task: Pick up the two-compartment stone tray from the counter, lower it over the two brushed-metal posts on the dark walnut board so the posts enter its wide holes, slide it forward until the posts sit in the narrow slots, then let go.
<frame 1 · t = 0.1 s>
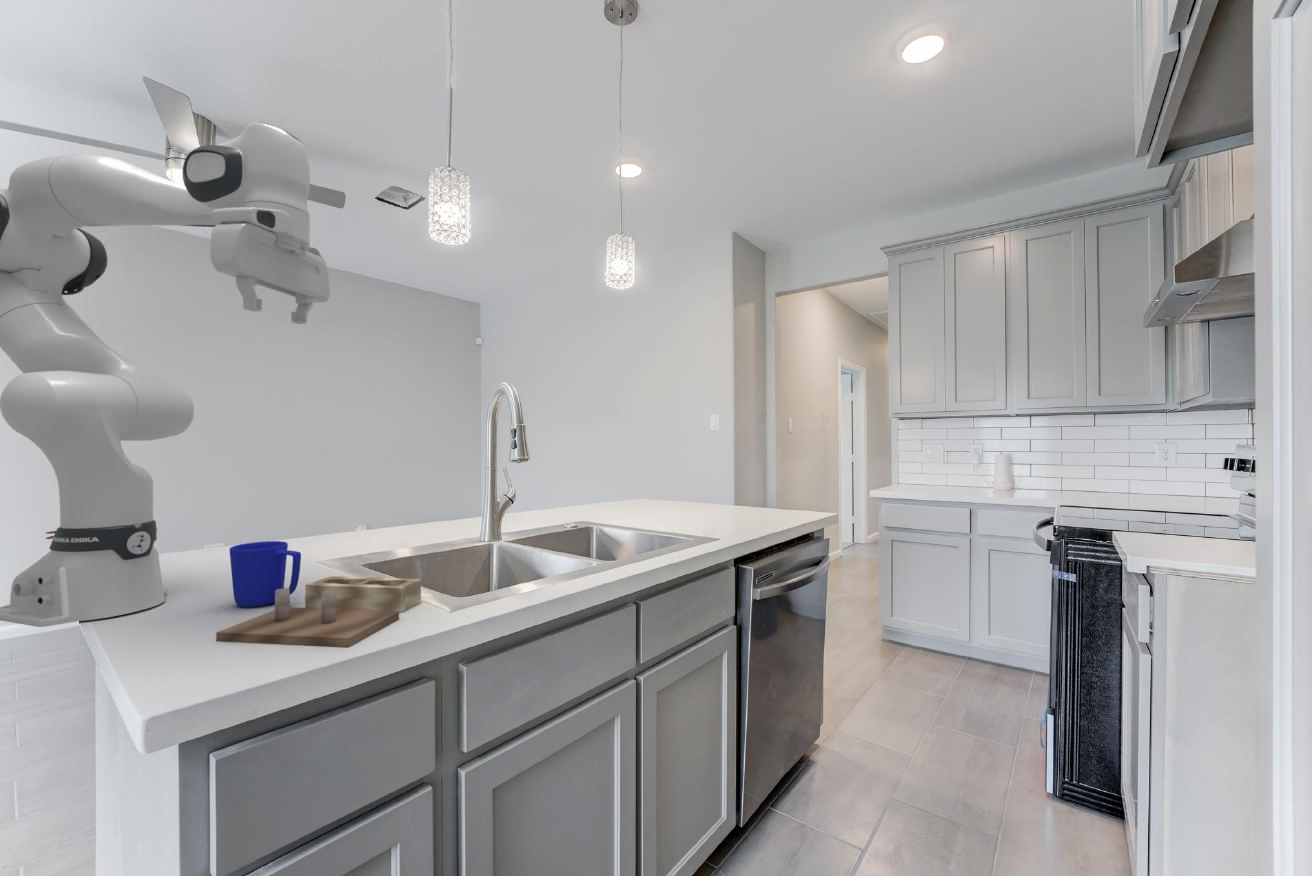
hand: (277, 317, 90), 48 cm above the counter, fingers open, 8 cm apart
board: (313, 629, 83), on the counter
two-compartment stone tray: (364, 605, 95), on the counter
mug: (268, 605, 96), on the counter
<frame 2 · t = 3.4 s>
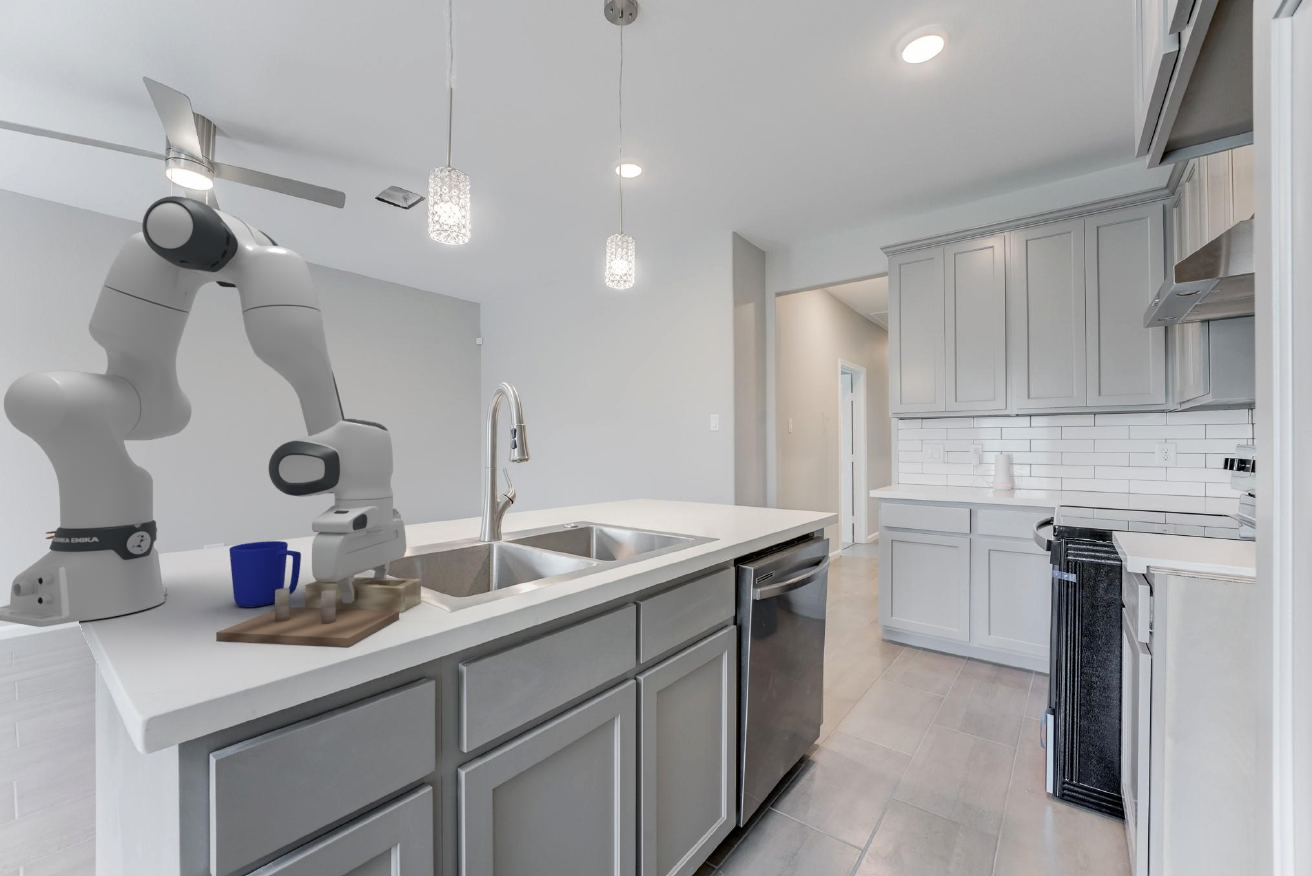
hand: (364, 595, 95), 2 cm above the counter, fingers closed on two-compartment stone tray, 6 cm apart
two-compartment stone tray: (364, 605, 95), on the counter, touching gripper
everything else where it was.
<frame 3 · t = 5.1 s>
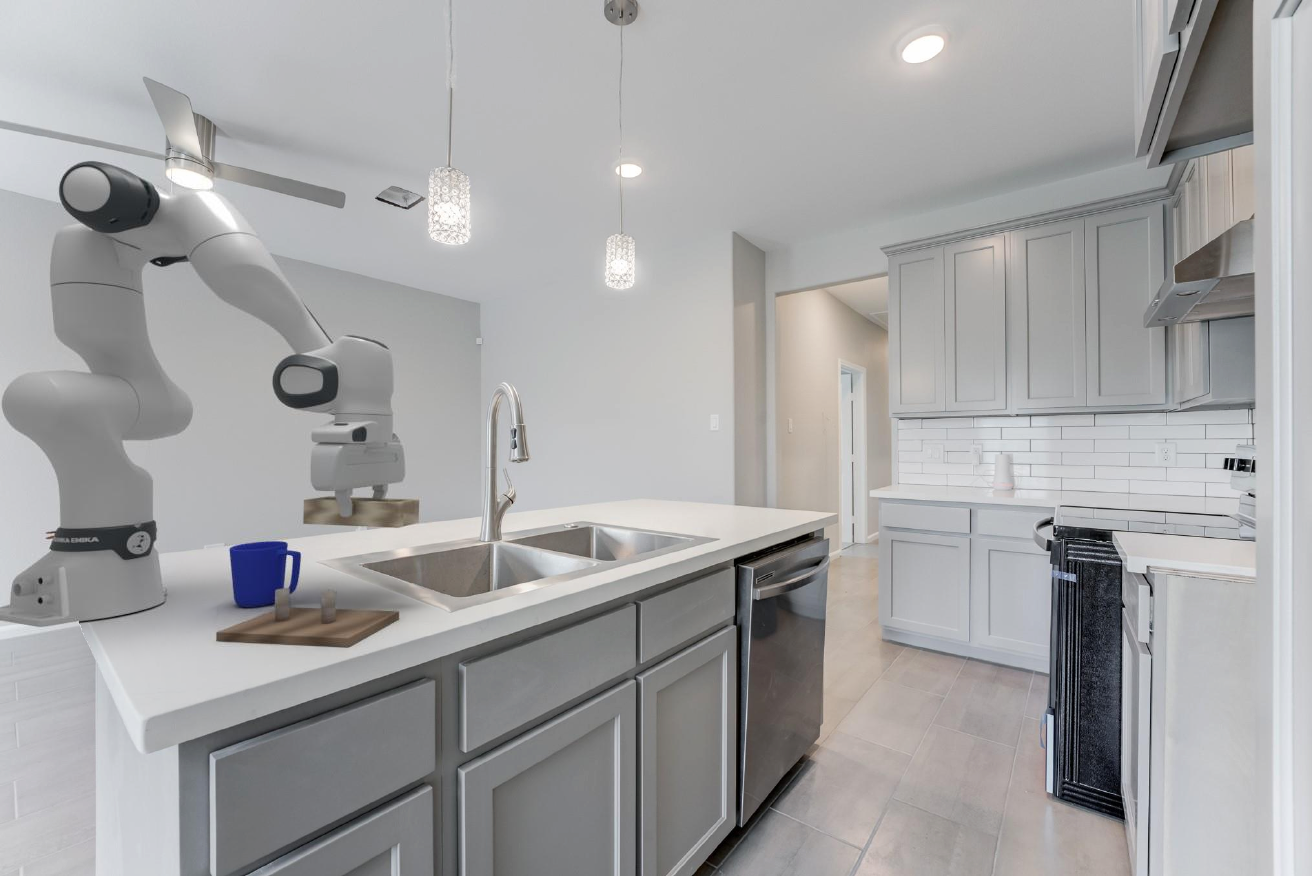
hand: (362, 513, 95), 16 cm above the counter, fingers closed on two-compartment stone tray, 6 cm apart
two-compartment stone tray: (362, 523, 95), point 14 cm above the counter, touching gripper
everything else where it was.
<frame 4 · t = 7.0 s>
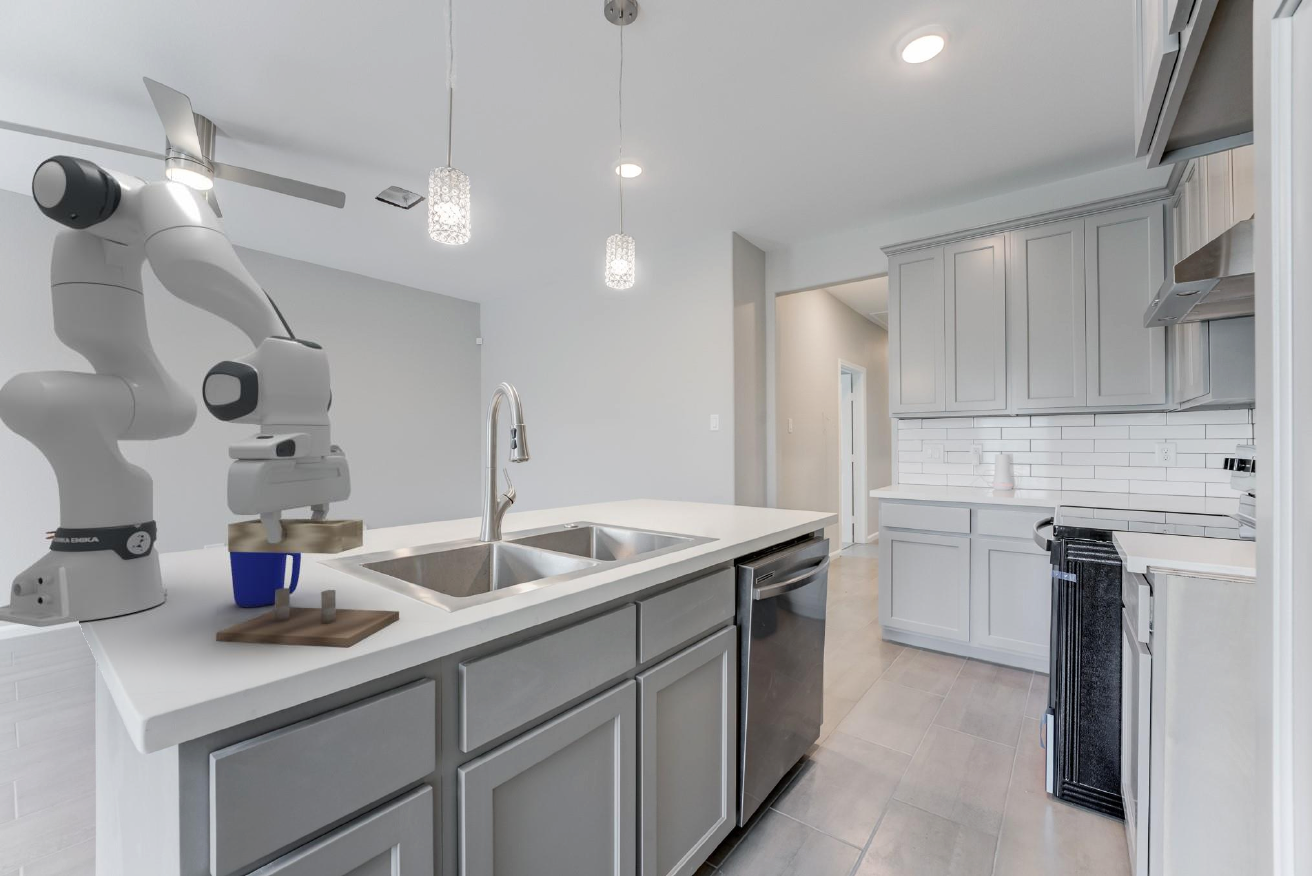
hand: (296, 537, 84), 14 cm above the counter, fingers closed on two-compartment stone tray, 6 cm apart
two-compartment stone tray: (297, 548, 84), point 12 cm above the counter, touching gripper
everything else where it was.
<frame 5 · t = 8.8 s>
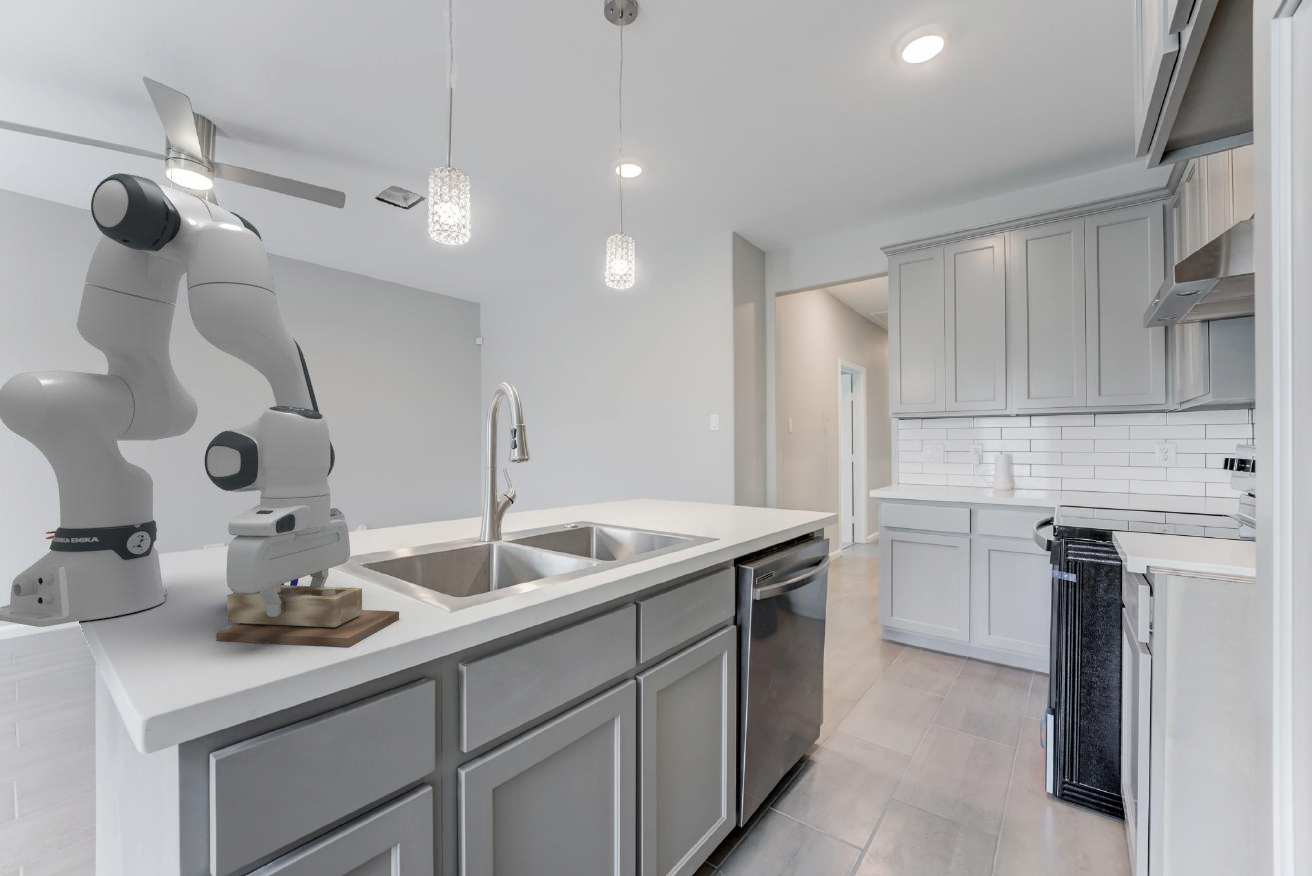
hand: (296, 607, 84), 3 cm above the counter, fingers closed on two-compartment stone tray, 6 cm apart
two-compartment stone tray: (296, 618, 84), point 2 cm above the counter, touching gripper
everything else where it was.
when the fingers open (3 cm above the counter, at t = 10.2 s): two-compartment stone tray stays where it is, resting on board.
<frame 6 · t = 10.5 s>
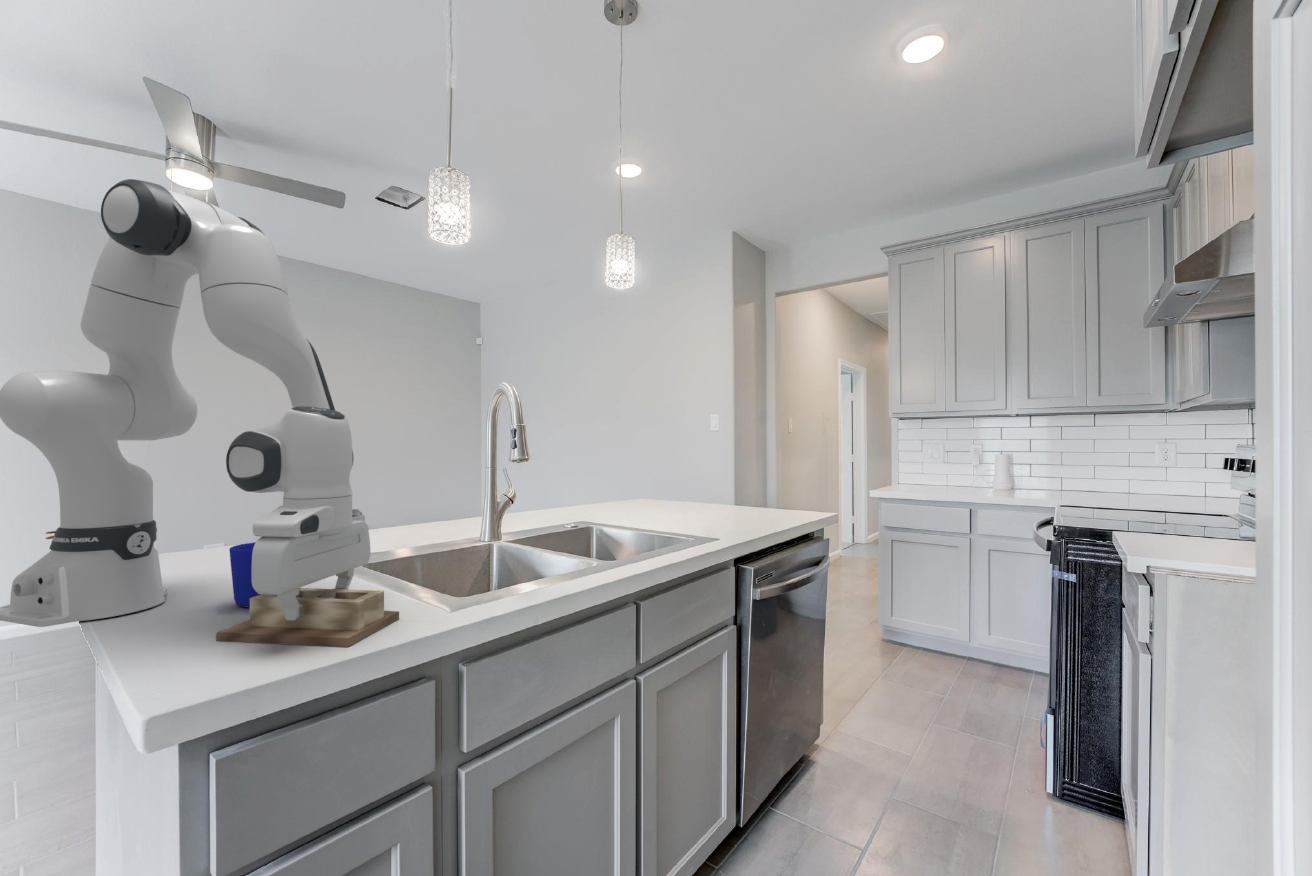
hand: (318, 608, 83), 3 cm above the counter, fingers open, 8 cm apart
two-compartment stone tray: (318, 621, 83), point 1 cm above the counter, touching board
everything else where it was.
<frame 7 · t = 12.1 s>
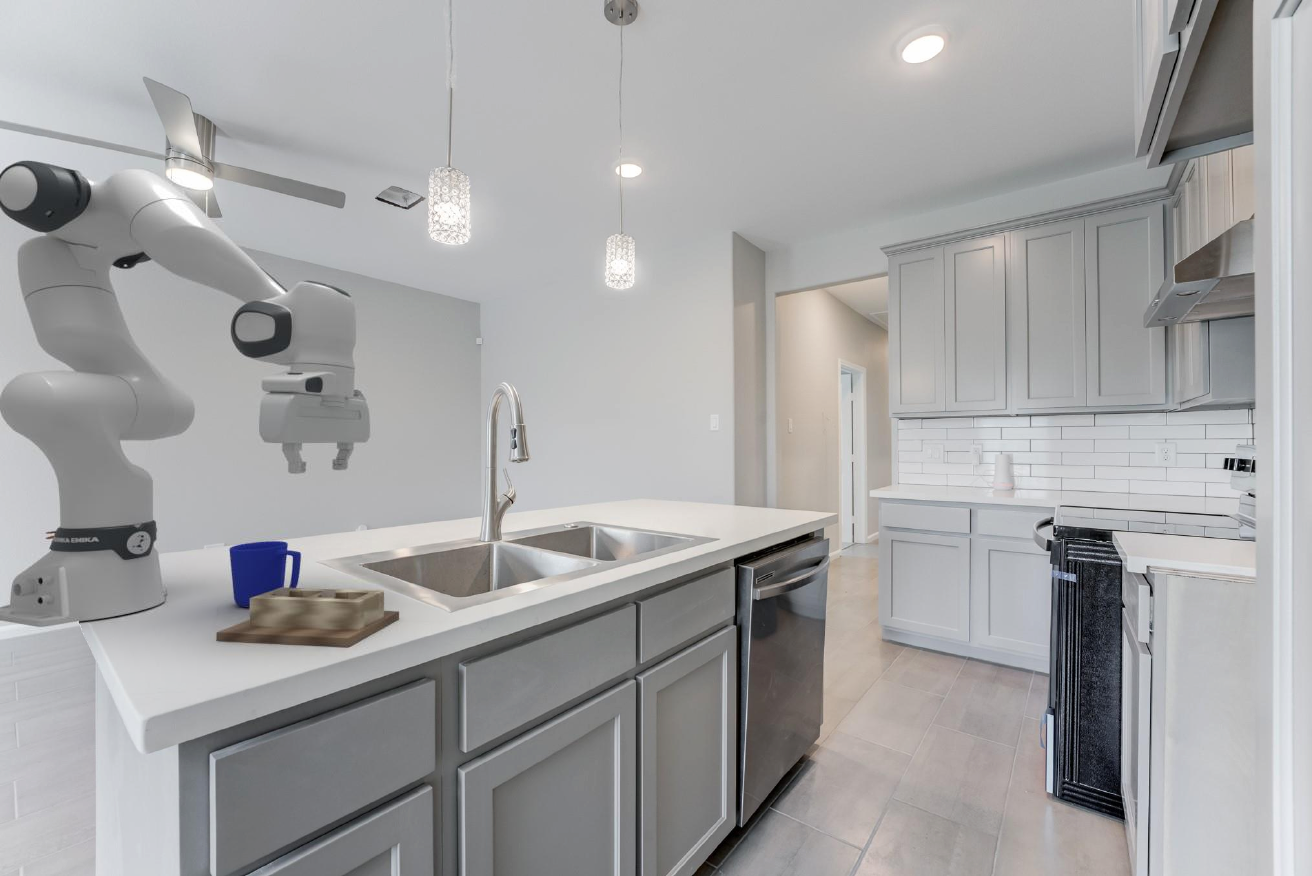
hand: (319, 471, 89), 23 cm above the counter, fingers open, 8 cm apart
nothing on the counter moved.
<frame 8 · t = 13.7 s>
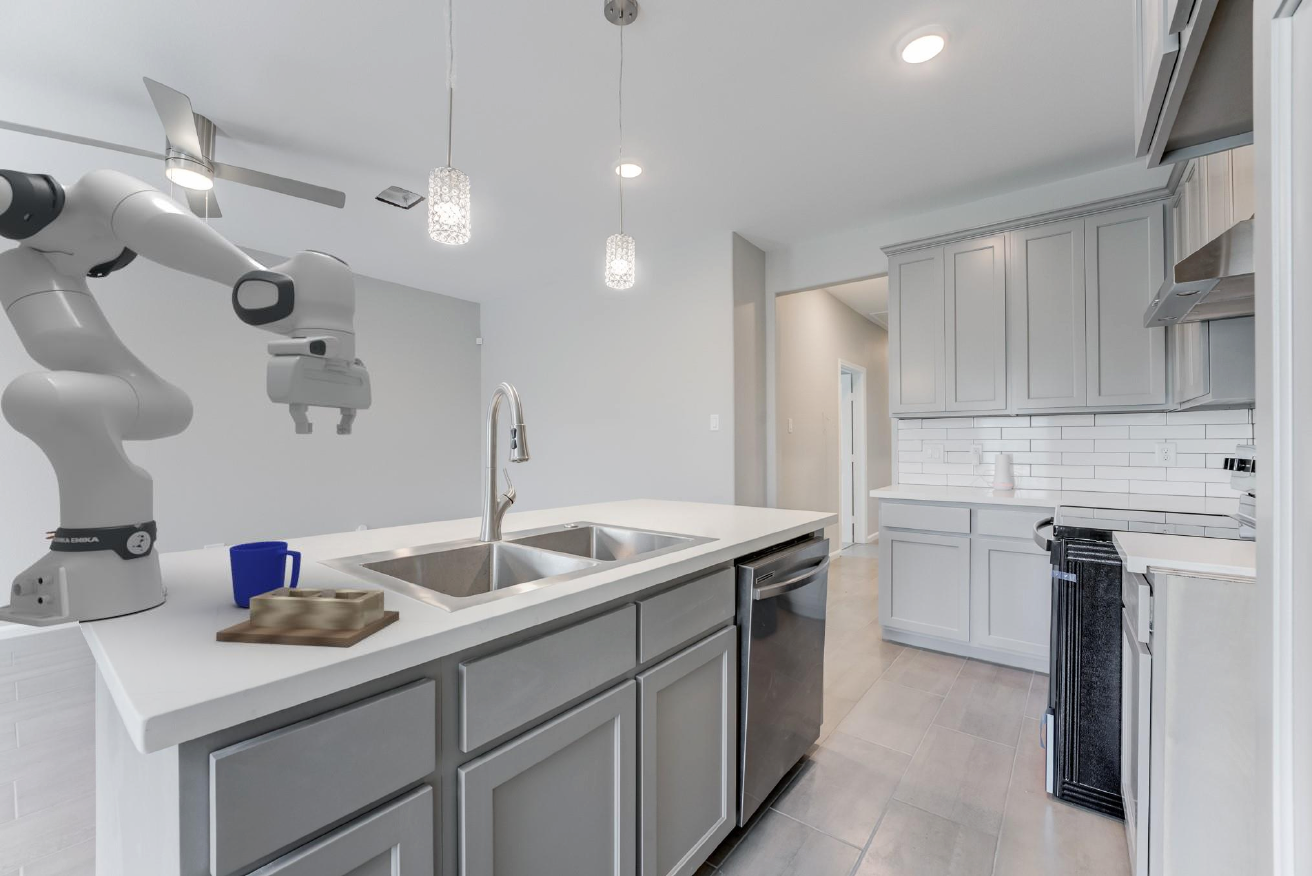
hand: (325, 434, 93), 29 cm above the counter, fingers open, 8 cm apart
nothing on the counter moved.
at the end: two-compartment stone tray 0.1 cm from the target spot on the board, point 1.2 cm above the board's base; two-compartment stone tray tilted 0°; the gripper is holding nothing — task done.
